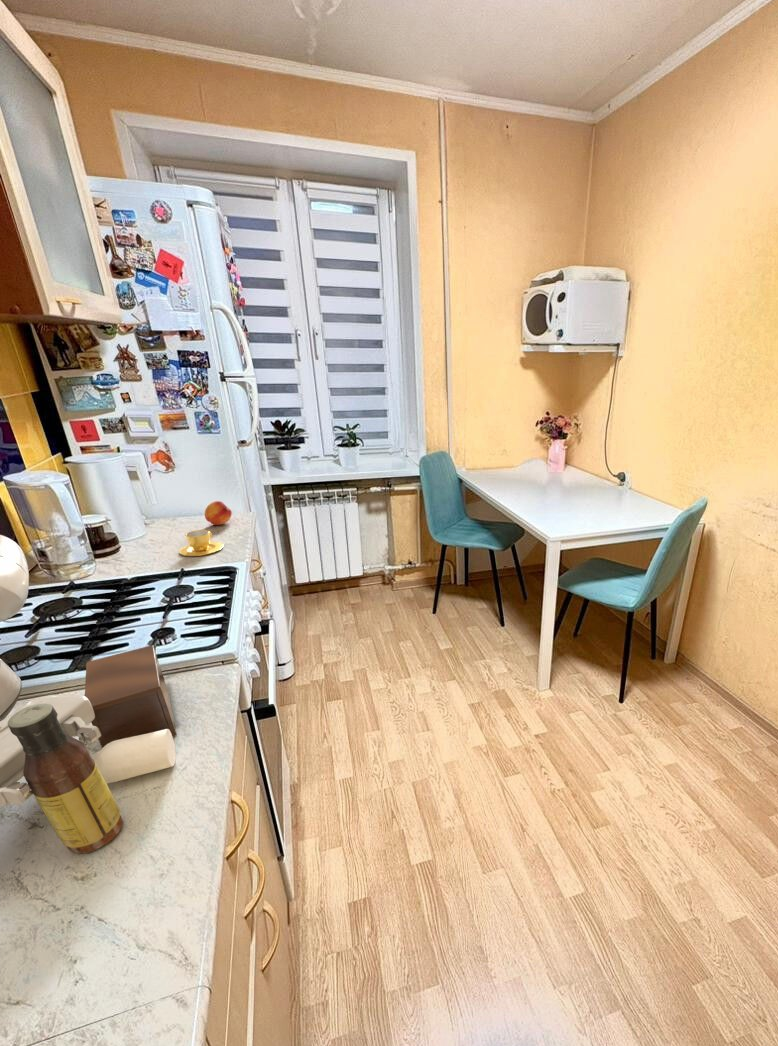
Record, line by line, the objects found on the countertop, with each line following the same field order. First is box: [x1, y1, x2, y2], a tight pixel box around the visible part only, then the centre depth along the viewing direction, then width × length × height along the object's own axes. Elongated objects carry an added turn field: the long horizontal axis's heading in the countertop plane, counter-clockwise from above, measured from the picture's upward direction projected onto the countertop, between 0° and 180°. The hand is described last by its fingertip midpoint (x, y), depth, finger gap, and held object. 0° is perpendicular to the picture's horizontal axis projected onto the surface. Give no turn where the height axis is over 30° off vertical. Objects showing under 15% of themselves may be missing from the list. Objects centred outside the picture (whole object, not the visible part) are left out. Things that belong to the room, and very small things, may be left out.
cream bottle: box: [90, 729, 176, 784], centre depth 74 cm, size 6×12×6 cm, turn 114°
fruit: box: [204, 500, 233, 526], centre depth 177 cm, size 8×8×8 cm
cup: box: [179, 529, 224, 557], centre depth 155 cm, size 12×12×5 cm
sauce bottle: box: [8, 703, 124, 854], centre depth 61 cm, size 6×6×20 cm
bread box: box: [90, 651, 177, 749], centre depth 83 cm, size 13×9×9 cm
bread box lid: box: [84, 644, 161, 710], centre depth 80 cm, size 14×9×1 cm, turn 34°
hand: (62, 762), depth 60 cm, fingers open, 8 cm apart
